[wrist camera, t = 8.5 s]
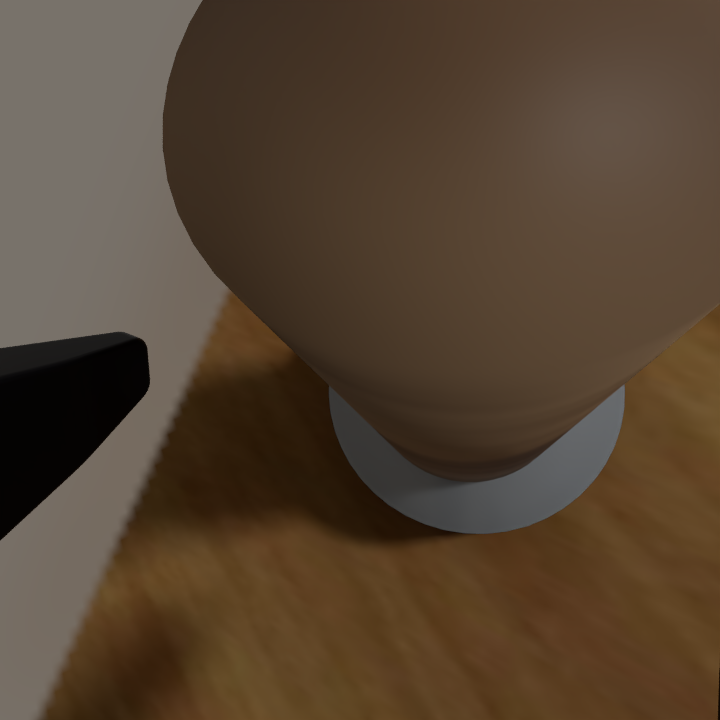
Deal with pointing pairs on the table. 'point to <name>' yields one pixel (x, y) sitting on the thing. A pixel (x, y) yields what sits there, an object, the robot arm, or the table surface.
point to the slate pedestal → (487, 498)
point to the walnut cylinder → (457, 201)
